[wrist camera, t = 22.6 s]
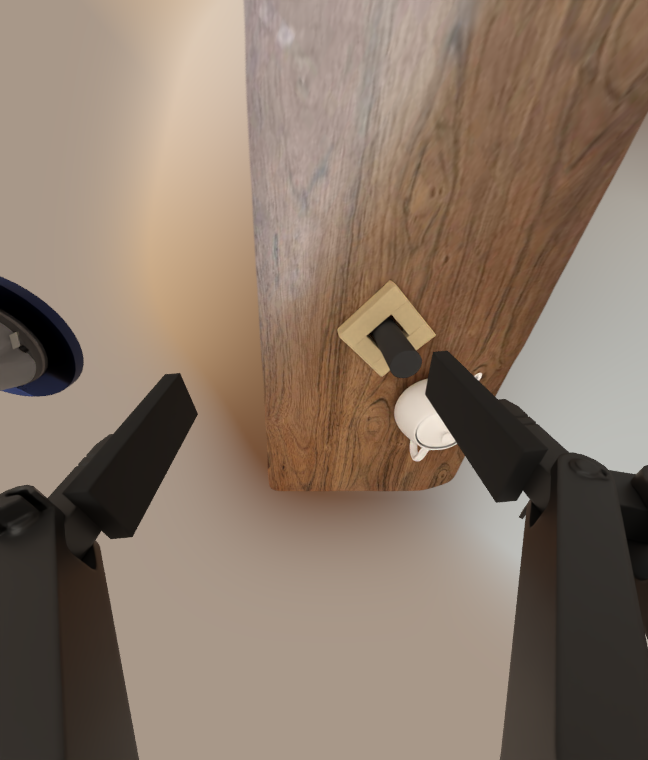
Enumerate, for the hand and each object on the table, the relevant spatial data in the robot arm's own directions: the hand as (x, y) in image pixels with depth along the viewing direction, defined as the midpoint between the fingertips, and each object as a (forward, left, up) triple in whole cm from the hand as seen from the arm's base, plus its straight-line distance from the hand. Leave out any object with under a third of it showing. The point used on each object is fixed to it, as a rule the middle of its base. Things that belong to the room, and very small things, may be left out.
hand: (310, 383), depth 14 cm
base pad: (+14, +2, -28) cm, 31 cm away
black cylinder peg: (+14, +2, -28) cm, 31 cm away
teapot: (+32, 0, -28) cm, 42 cm away
